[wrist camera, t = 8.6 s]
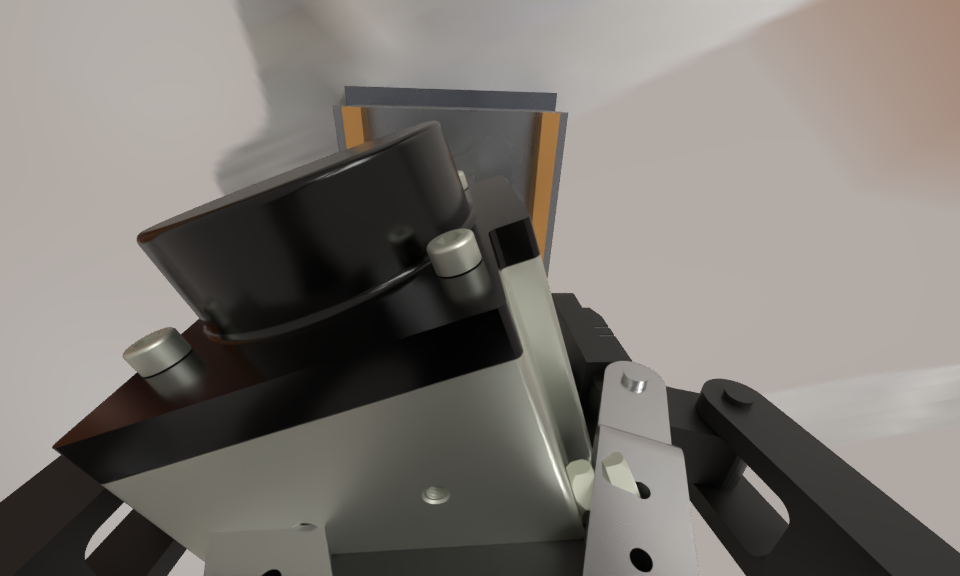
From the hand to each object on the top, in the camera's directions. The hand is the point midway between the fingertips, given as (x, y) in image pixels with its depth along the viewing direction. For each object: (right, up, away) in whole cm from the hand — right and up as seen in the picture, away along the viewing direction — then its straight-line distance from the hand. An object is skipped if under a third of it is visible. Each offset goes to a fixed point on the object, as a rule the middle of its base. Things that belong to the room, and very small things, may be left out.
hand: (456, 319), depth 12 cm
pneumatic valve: (0, +2, +3) cm, 4 cm away
